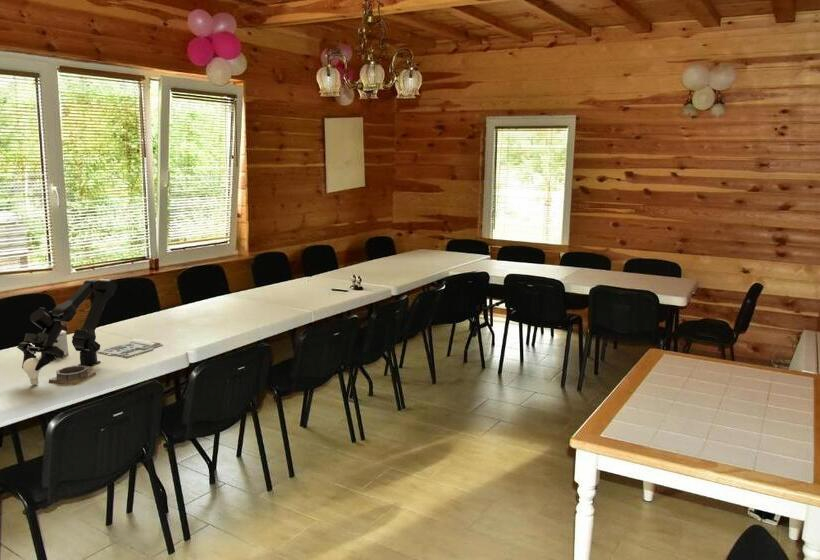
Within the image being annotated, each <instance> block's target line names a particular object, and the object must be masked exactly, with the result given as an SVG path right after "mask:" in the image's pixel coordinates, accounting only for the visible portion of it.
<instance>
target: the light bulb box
mask: <svg viewBox="0 0 820 560" xmlns="http://www.w3.org/2000/svg"><path fill="white" fill-rule="evenodd" d="M57 340H58V342H57V343H54V345H53V346H57V347H58V348H60V349H61V350H63V351H64V355H66V356H69V354H70V353H69V346H68V338H67V331H64V330H62V331H61V333H60V334H59V336H58V338H57Z"/></svg>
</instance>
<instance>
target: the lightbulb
mask: <svg viewBox="0 0 820 560" xmlns="http://www.w3.org/2000/svg"><path fill="white" fill-rule="evenodd" d="M39 360H40V358H37V357H36V358H29V359H27V360H26V361H25V362H24V364H23V363H22V365H23V369H22V370H23V371H24V373H26V374H27V376H28V378H29V383H30V385H31V386H37V385H38V384H39V373H41V372H40V371H41V369H42V368H41V369H39V370H38V371H36V370H35V368H36V366H37V364H38V362H39Z"/></svg>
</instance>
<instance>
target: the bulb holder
mask: <svg viewBox="0 0 820 560" xmlns="http://www.w3.org/2000/svg"><path fill="white" fill-rule="evenodd" d="M55 373H56V376H55V377H52V378H50V379H48V383H52V382H54V383H55V384H65V383H66V384H65V385H77V384H78V383H81V382H83V381H85V380H87V379H89V378H92V377H93V376H96V375H97V372H96V371H89V370H88V366H78V364H77V365H71V366H65V367H61V368H60V369H57V370H56V371H55ZM54 383H53V384H54Z"/></svg>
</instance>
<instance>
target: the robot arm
mask: <svg viewBox="0 0 820 560" xmlns="http://www.w3.org/2000/svg"><path fill="white" fill-rule="evenodd" d="M117 288H118V285H117V282H116V281H115V280H114V279H107V278H106V279H105V278H100V279H97V280H95V279H86V280H85V281H83V284H82V285H80V287H79V288H78V289H77V290H76V291H75V292H74V293H73V294H72V295H70V297H69V298H68V299H67V300H66V301H64V302H62V303H60V304H58V305H57V306H55V307H54V308H53V309H52V310H50V311H48V309H46V307H39V308H38V309H36V310H35V311H34V312H32V313H31V314H30V315H29V321H30V322H32V323H33V324H35V326H37V327H38V328H40V329H41V330H42V332H37V334H36V333H35V334H34V333H27V332H26V333H25V336H24V340H23V342H19V343H18V345H17V346H16V348H17V349H19V350H20V351H21V352H22V353H23V359H22V365H21V369H22V370H24V369H23V364H24V362H25V361H26V360H27V359H29V358H37V355H35V354H36V353H40V357H39V362H38V364H37V366H36V368H35V370H36V371H38V370H39V369H43V368H44V367H46V366H47V365H49V363H51V362H53V361H56V360H57V359H61V360H62V359H63V358H64V351H63V350H61V349H60V348H58V347H57V346H53V345H54V343H57V342H58V340H57V338H58V336H59V334H60V333H61V331H62V330H63V331H65V332H67V331H68V327H67V324H66V323H67V322H71V321H72V320H73V319H74V317H75V316H76V314H77V310H78V308H79V307H80V306H81V305H82V304H83V302H85V300H86V299H87V298H88V297H89V296H90V295H91V294H92V293H93V292H94V298H93V301H92V304H91V306H90V309H89V311H88V313H87V315H86V318H85V320H84V323H83V325H82V327H81V328H80V329H79V328H75V330H74V333H73V335H72V336H71V338H72V339H71V343H72V346H73V347H74V349H75V351H76V352H79V362H80V363H79V364H77V365H78V366H87V367H88V366H91V367H93V366H96V365H98V364H100V363H101V361H100V360H98V355H97V354H98V353H97V351H98V350H101V344H100V343H98V342H97V341H96V337H97V335H96V328H97V326H98V323H99V322H100V318H101V317H102V314H103V311H104V308H105V307H106V304H107V301H108V300H110V298H111V297H113V296H114V294H115V292H116V291H117ZM62 322H66V323H62ZM43 329H44V330H43ZM55 357H56V358H55ZM95 364H96V365H95Z"/></svg>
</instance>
